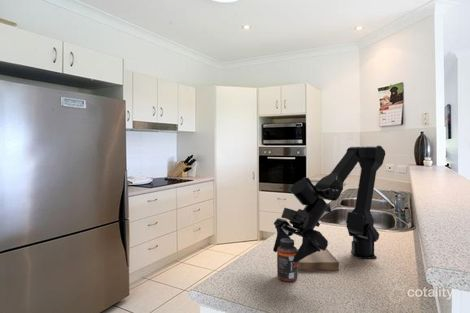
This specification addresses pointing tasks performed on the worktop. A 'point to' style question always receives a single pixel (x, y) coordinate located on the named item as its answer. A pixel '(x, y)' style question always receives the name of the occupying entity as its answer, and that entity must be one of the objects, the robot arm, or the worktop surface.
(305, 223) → the robot arm
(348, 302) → the worktop surface
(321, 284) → the worktop surface
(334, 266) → the walnut plinth
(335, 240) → the worktop surface
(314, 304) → the worktop surface
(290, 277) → the supplement bottle
